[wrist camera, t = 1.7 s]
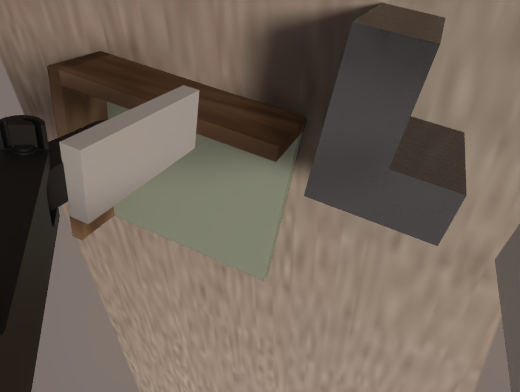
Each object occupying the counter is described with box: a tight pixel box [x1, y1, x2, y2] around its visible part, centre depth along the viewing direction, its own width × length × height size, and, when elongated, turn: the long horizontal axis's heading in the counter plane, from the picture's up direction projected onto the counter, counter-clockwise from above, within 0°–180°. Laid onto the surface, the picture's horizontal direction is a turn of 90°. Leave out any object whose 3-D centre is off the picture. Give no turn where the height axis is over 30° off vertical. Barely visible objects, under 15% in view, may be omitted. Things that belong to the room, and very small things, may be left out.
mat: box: [107, 102, 303, 281], centre depth 38 cm, size 18×20×1 cm
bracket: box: [304, 3, 466, 246], centre depth 24 cm, size 10×8×9 cm
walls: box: [47, 51, 306, 240], centre depth 36 cm, size 18×20×6 cm
